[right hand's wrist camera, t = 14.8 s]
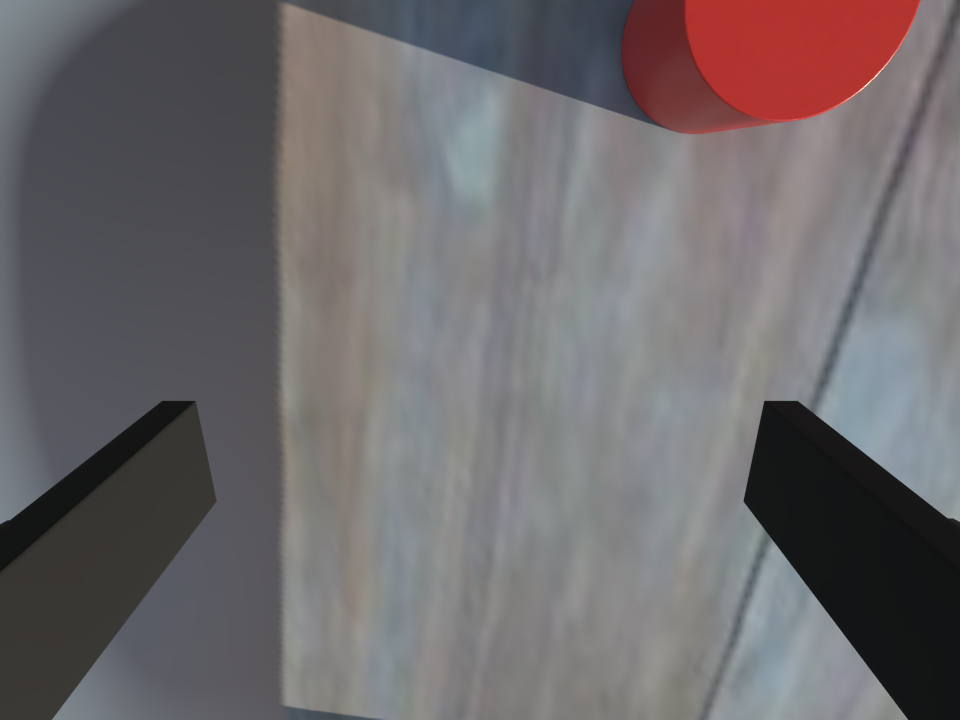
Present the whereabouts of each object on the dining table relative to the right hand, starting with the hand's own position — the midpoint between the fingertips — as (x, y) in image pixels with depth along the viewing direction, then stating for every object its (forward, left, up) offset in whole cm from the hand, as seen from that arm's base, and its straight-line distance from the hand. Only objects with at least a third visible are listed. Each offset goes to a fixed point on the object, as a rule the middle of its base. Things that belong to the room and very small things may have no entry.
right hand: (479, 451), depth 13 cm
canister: (+15, +7, -19) cm, 25 cm away
